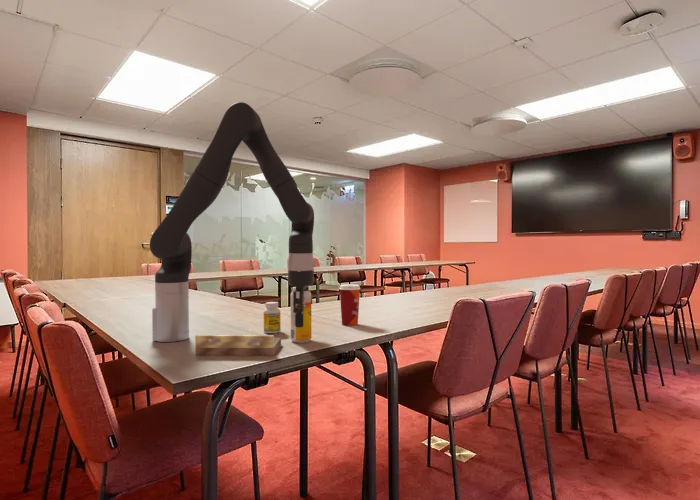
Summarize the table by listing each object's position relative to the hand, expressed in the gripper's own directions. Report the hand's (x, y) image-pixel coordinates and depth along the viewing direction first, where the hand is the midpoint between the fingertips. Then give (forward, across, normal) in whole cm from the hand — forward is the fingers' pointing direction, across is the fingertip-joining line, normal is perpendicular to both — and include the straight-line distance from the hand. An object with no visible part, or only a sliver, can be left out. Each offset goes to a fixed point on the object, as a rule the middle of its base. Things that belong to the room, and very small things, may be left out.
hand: (301, 324), depth 121 cm
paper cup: (+5, -25, +14) cm, 29 cm away
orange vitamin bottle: (+5, 0, 0) cm, 5 cm away
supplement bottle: (+5, -12, -11) cm, 17 cm away
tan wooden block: (+5, +10, -15) cm, 19 cm away
